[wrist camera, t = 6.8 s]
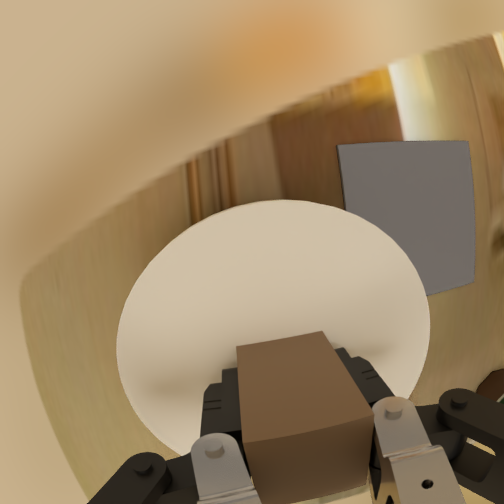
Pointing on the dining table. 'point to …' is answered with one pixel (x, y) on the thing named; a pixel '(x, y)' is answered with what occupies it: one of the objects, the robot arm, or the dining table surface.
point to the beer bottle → (493, 386)
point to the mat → (417, 203)
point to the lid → (275, 338)
